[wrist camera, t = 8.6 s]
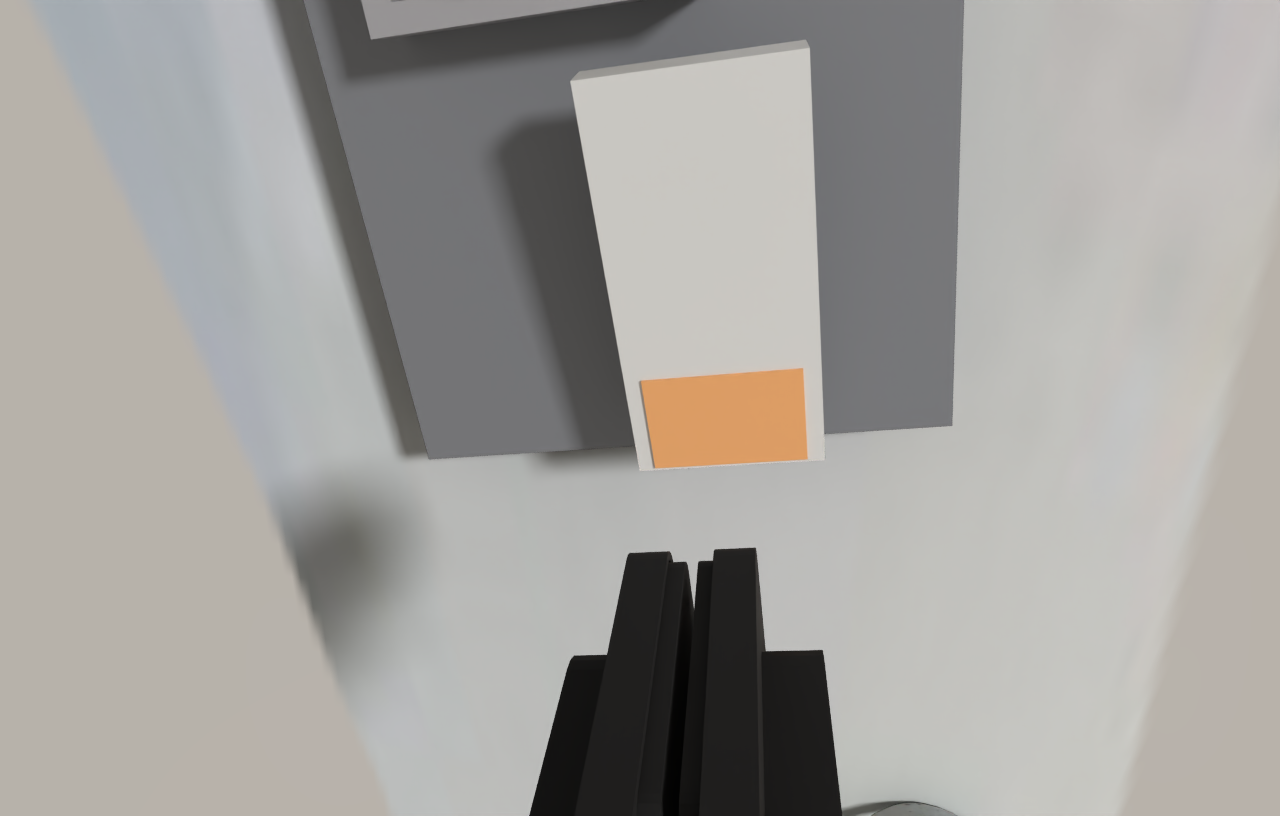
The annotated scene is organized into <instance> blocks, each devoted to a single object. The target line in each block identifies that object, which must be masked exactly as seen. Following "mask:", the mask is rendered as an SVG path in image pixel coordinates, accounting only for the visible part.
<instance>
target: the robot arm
mask: <svg viewBox="0 0 1280 816" xmlns="http://www.w3.org/2000/svg"><path fill="white" fill-rule="evenodd" d="M529 816H842V810H841V801H840V792H839V784H838V775H837V766H836V758H835V749H834V740H833V732H832V723H831V714H830V706H829V697H828V688H827V680H826V671H825V663H824V655H823V650H809V651H766V650H765V639H764V628H763V617H762V606H761V595H760V584H759V573H758V562H757V553H756V548H739V549H715V550H714V556H713V561H699V563H698V571H697V583H696V596H695V608H694V606H693V599H692V592H691V585H690V578H689V570H688V565H687V563H686V562H673V559H672V555H671V553H670V552H669V551H668V552H645V553H629V554H628V557H627V560H626V565H625V570H624V575H623V580H622V585H621V589H620V594H619V599H618V604H617V609H616V614H615V619H614V624H613V629H612V633H611V638H610V643H609V648H608V653H607V655H582V656H573V658H572V659H571V660H570V663H569V666H568V668H567V672H566V676H565V680H564V683H563V687H562V691H561V695H560V699H559V703H558V707H557V711H556V714H555V718H554V722H553V726H552V730H551V734H550V738H549V741H548V745H547V749H546V753H545V757H544V761H543V765H542V769H541V772H540V776H539V780H538V784H537V788H536V792H535V796H534V800H533V803H532V807H531V811H530V815H529Z"/></svg>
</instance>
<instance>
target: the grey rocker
mask: <svg viewBox="0 0 1280 816" xmlns="http://www.w3.org/2000/svg"><path fill="white" fill-rule="evenodd" d="M570 83H571V88H572V94H573V100H574V105H575V111H576V116H577V122H578V128H579V133H580V139H581V144H582V150H583V156H584V161H585V167H586V172H587V178H588V184H589V189H590V195H591V200H592V206H593V212H594V217H595V223H596V228H597V234H598V240H599V245H600V251H601V256H602V262H603V268H604V273H605V279H606V284H607V290H608V296H609V301H610V307H611V312H612V318H613V324H614V329H615V335H616V340H617V346H618V352H619V357H620V363H621V368H622V374H623V380H624V385H625V391H626V396H627V402H628V408H629V413H630V419H631V424H632V430H633V436H634V441H635V447H636V452H637V458H638V464H639V469H640V471H650V470H667V469H684V468H701V467H718V466H735V465H752V464H769V463H786V462H803V461H820V460H825V443H824V417H823V390H822V363H821V336H820V309H819V282H818V255H817V228H816V201H815V174H814V147H813V120H812V94H811V67H810V47H809V45H808V43H807V41H806V40H800V41H792V42H785V43H778V44H771V45H764V46H757V47H750V48H743V49H735V50H728V51H721V52H714V53H707V54H700V55H693V56H686V57H678V58H671V59H664V60H657V61H650V62H643V63H636V64H629V65H622V66H614V67H607V68H600V69H593V70H586V71H579V72H578V73H577V74H576V75H575V76H574V77H573V79H572V80H571V81H570Z"/></svg>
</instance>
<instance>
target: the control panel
mask: <svg viewBox="0 0 1280 816" xmlns="http://www.w3.org/2000/svg"><path fill="white" fill-rule="evenodd" d="M303 1H304V5H305V8H306V12H307V16H308V19H309V23H310V27H311V30H312V34H313V37H314V41H315V45H316V48H317V52H318V56H319V59H320V63H321V67H322V70H323V74H324V78H325V81H326V85H327V89H328V92H329V96H330V99H331V103H332V107H333V110H334V114H335V118H336V121H337V125H338V129H339V132H340V136H341V140H342V143H343V147H344V151H345V154H346V158H347V162H348V165H349V169H350V172H351V176H352V180H353V183H354V187H355V191H356V194H357V198H358V202H359V205H360V209H361V213H362V216H363V220H364V224H365V227H366V231H367V234H368V238H369V242H370V245H371V249H372V253H373V256H374V260H375V264H376V267H377V271H378V275H379V278H380V282H381V286H382V289H383V293H384V296H385V300H386V304H387V307H388V311H389V315H390V318H391V322H392V326H393V329H394V333H395V337H396V340H397V344H398V348H399V351H400V355H401V359H402V362H403V366H404V369H405V373H406V377H407V380H408V384H409V388H410V391H411V395H412V399H413V402H414V406H415V410H416V413H417V417H418V421H419V424H420V428H421V431H422V435H423V439H424V442H425V446H426V450H427V453H428V457H429V459H441V458H457V457H473V456H488V455H504V454H520V453H535V452H551V451H567V450H582V449H598V448H613V447H629V446H635V441H634V436H633V430H632V424H631V419H630V413H629V408H628V402H627V396H626V391H625V385H624V380H623V374H622V368H621V363H620V357H619V352H618V346H617V340H616V335H615V329H614V324H613V318H612V312H611V307H610V301H609V296H608V290H607V284H606V279H605V273H604V268H603V262H602V256H601V251H600V245H599V240H598V234H597V228H596V223H595V217H594V212H593V206H592V200H591V195H590V189H589V184H588V178H587V172H586V167H585V161H584V156H583V150H582V144H581V139H580V133H579V128H578V122H577V116H576V111H575V105H574V100H573V94H572V88H571V83H570V81H571V80H572V79H573V77H574V76H575V75H576V74H577V73H578V72H579V71H586V70H593V69H600V68H607V67H614V66H622V65H629V64H636V63H643V62H650V61H657V60H664V59H671V58H678V57H686V56H693V55H700V54H707V53H714V52H721V51H728V50H735V49H743V48H750V47H757V46H764V45H771V44H778V43H785V42H792V41H800V40H806V41H807V43H808V45H809V47H810V67H811V94H812V120H813V147H814V174H815V201H816V228H817V255H818V282H819V309H820V336H821V363H822V390H823V417H824V434H833V433H848V432H864V431H879V430H895V429H911V428H926V427H942V426H952V415H953V379H954V343H955V307H956V271H957V235H958V199H959V163H960V127H961V91H962V55H963V19H964V0H303Z"/></svg>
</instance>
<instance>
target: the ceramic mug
mask: <svg viewBox="0 0 1280 816" xmlns="http://www.w3.org/2000/svg"><path fill="white" fill-rule="evenodd" d="M871 816H957V815H955V814H953V813H951V812H949V811H946V810H944V809H941V808H938V807H934V806H931V805H927V804H923V803H902V804H898V805H893V806H890V807H888V808H886V809H883V810H881V811H879V812H877V813H874V814H873V815H871Z"/></svg>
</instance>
